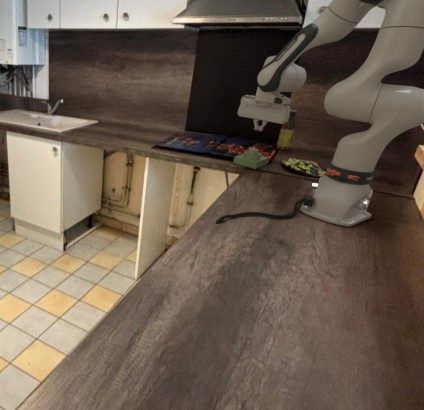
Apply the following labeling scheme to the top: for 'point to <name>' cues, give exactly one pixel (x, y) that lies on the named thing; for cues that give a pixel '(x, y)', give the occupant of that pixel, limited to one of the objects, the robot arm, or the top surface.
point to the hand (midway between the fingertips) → (258, 130)
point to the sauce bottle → (287, 132)
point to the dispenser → (251, 160)
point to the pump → (253, 151)
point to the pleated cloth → (304, 167)
